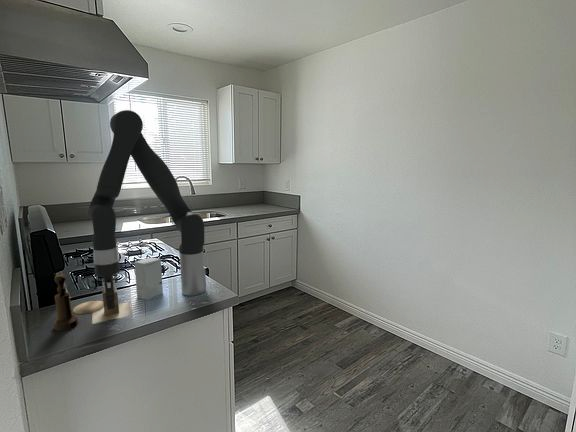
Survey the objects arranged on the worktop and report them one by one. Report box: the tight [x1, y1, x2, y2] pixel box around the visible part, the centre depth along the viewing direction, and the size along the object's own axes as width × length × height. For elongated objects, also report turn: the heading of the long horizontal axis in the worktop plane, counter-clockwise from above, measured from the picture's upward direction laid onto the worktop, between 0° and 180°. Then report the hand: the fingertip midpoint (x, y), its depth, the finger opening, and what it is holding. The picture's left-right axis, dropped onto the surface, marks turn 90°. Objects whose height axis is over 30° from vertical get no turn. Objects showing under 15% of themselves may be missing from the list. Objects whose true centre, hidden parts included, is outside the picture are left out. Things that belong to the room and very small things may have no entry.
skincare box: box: [133, 257, 164, 301], centre depth 129 cm, size 8×6×15 cm
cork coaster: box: [72, 300, 104, 315], centre depth 119 cm, size 10×10×1 cm
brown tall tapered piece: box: [53, 273, 79, 332], centre depth 104 cm, size 7×6×18 cm
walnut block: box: [101, 287, 119, 316], centre depth 115 cm, size 4×4×8 cm
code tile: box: [91, 301, 133, 325], centre depth 115 cm, size 12×12×1 cm
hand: (110, 304), depth 115 cm, fingers open, 8 cm apart
